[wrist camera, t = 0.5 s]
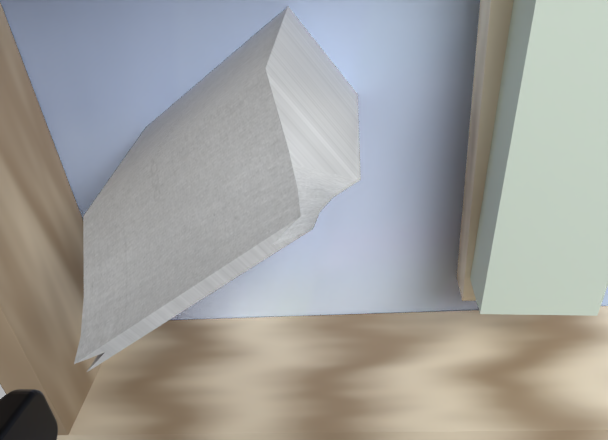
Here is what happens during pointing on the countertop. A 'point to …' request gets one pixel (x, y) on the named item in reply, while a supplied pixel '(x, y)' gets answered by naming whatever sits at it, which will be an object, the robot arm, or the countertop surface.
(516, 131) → the offcut top
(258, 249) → the white printed packet
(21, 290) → the beige shallow tray
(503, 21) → the offcut low
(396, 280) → the countertop surface
